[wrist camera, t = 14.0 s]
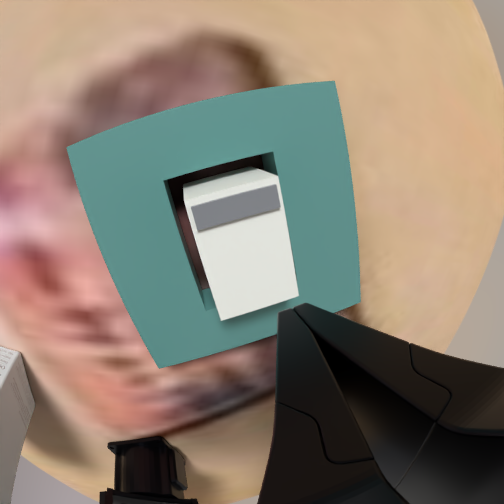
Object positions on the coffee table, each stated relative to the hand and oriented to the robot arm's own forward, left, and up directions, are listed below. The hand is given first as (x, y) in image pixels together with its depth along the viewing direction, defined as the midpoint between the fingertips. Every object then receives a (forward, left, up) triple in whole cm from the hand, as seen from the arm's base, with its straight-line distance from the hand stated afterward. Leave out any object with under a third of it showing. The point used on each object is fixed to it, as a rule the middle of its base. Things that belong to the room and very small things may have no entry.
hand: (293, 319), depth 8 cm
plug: (0, 0, -11) cm, 11 cm away
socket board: (0, 0, -10) cm, 10 cm away
